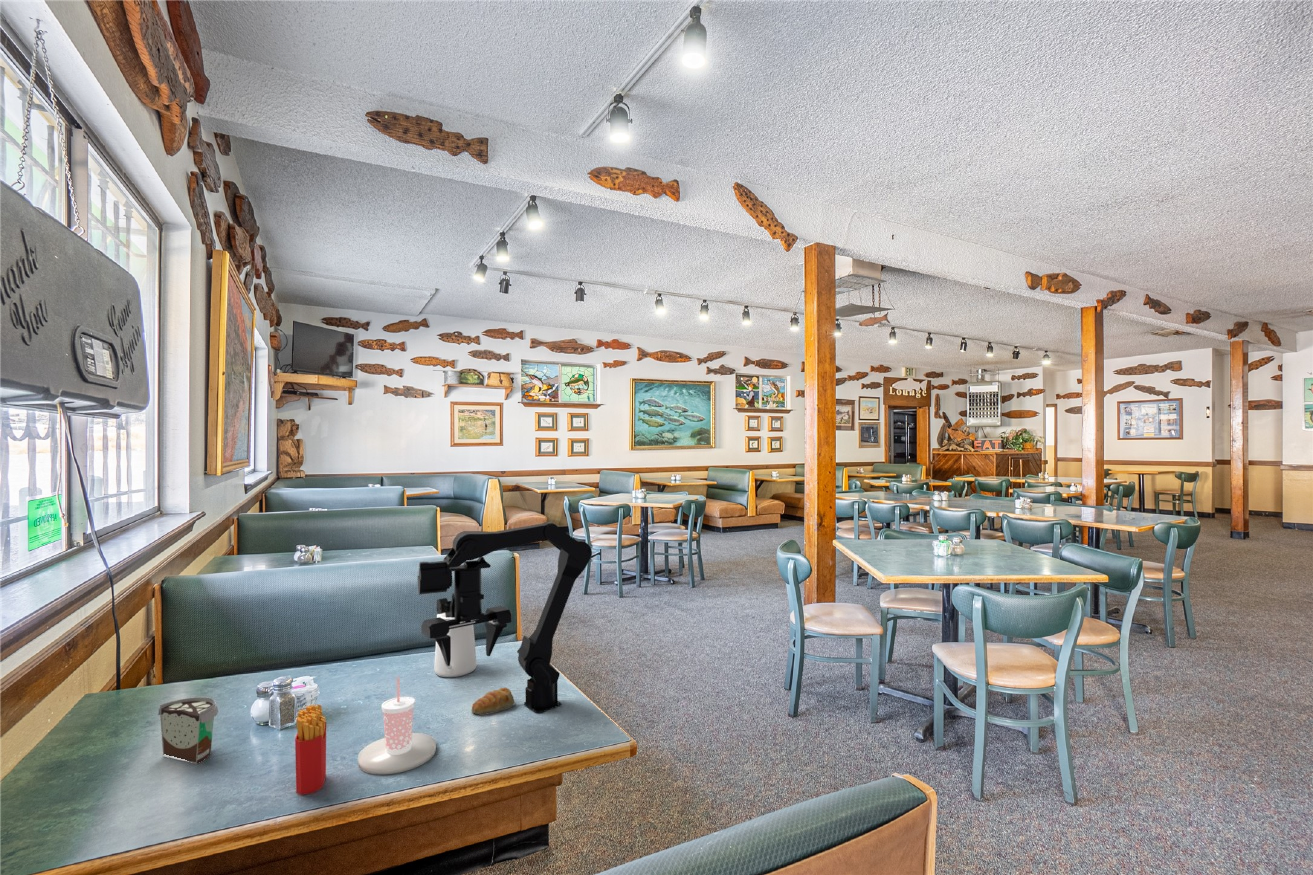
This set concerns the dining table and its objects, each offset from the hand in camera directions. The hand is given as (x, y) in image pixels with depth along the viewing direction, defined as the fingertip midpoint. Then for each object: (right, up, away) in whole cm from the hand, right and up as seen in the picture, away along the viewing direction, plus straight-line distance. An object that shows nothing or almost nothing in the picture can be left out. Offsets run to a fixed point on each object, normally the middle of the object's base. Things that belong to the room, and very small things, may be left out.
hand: (468, 660), depth 137 cm
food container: (-50, -14, -13) cm, 54 cm away
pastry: (+4, -14, +6) cm, 16 cm away
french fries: (-21, -13, -25) cm, 35 cm away
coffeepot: (-13, -14, +31) cm, 36 cm away
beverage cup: (-9, -12, -16) cm, 21 cm away
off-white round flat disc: (-9, -13, -16) cm, 22 cm away
